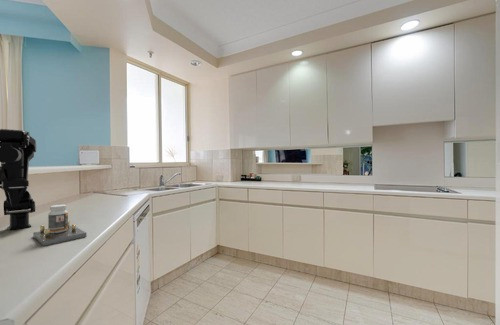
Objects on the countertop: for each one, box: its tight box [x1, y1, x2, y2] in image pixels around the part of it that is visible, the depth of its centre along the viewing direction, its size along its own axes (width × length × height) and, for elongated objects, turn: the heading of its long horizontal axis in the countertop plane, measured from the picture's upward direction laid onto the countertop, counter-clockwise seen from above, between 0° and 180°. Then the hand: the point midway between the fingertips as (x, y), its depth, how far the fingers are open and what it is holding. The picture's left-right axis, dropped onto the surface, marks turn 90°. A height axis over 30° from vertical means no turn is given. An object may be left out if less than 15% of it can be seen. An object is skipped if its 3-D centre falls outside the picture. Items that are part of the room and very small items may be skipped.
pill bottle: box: [47, 204, 69, 233], centre depth 84 cm, size 6×6×10 cm
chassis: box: [32, 220, 87, 247], centre depth 83 cm, size 16×12×4 cm
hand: (12, 205), depth 82 cm, fingers open, 9 cm apart
